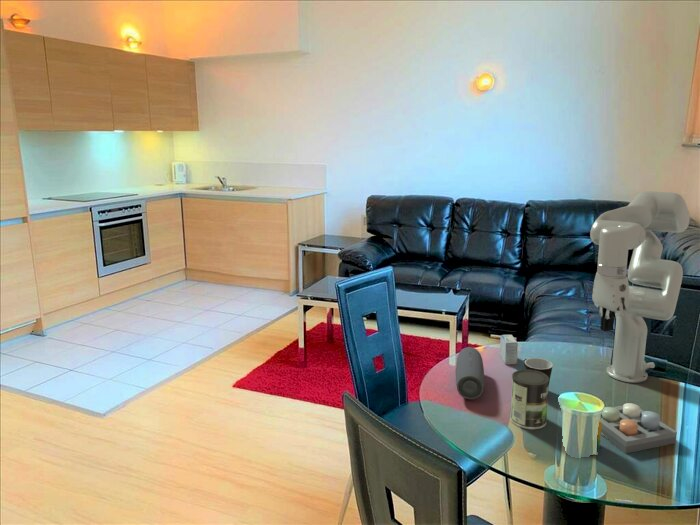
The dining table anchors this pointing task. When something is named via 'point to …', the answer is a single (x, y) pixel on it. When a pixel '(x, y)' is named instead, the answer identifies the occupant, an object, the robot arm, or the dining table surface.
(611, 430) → the grey square tray
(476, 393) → the bluetooth speaker
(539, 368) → the coffee mug
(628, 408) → the button cream
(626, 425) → the button terracotta
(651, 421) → the button slate
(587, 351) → the dining table surface
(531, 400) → the coffee can
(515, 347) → the medicine box
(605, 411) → the button sage
